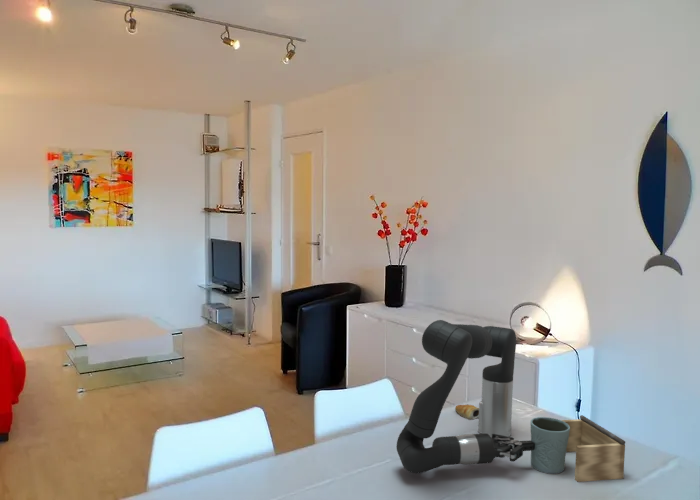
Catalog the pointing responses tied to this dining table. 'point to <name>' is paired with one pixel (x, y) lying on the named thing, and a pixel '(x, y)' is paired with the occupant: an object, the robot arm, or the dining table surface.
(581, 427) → the oak caddy
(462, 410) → the pastry
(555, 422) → the green ceramic pot
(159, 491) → the dining table surface
